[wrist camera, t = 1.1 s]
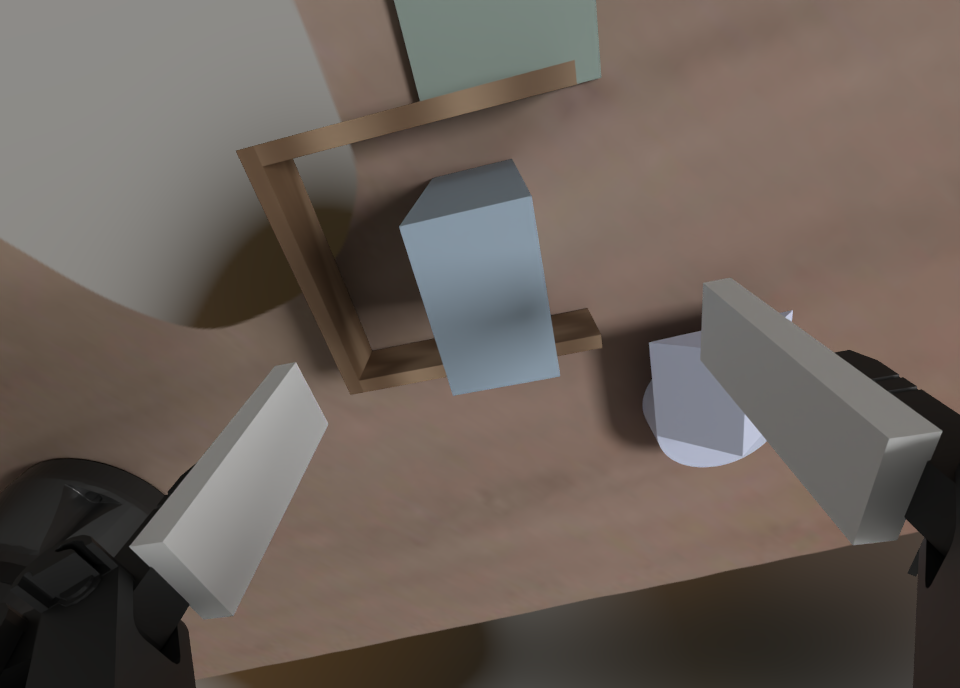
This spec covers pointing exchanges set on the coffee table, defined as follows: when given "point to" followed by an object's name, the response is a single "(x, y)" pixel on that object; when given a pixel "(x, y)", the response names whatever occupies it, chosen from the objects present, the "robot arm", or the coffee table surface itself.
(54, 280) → the coffee table surface
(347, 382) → the shelf bay
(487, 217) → the block
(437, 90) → the felt pad
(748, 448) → the wedge on round base
